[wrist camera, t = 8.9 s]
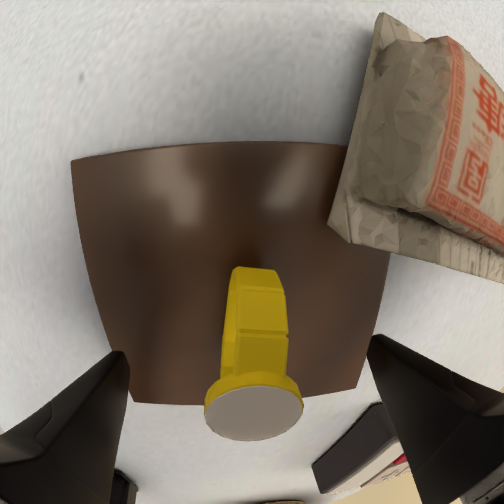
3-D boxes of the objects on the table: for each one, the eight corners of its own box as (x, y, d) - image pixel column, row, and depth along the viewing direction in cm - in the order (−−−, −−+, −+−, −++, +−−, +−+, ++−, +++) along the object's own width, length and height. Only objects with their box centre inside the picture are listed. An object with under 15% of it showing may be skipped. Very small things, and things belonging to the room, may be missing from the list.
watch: (260, 360, 13) (278, 462, 8) (205, 356, 13) (201, 461, 8) (285, 250, 11) (335, 345, 6) (216, 242, 11) (210, 339, 5)
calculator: (419, 470, 20) (320, 501, 17) (406, 447, 24) (309, 467, 21) (480, 413, 17) (395, 445, 13) (461, 389, 21) (373, 404, 17)
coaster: (136, 393, 15) (133, 402, 14) (78, 159, 10) (69, 160, 9) (351, 380, 16) (355, 388, 15) (391, 150, 11) (401, 151, 10)
